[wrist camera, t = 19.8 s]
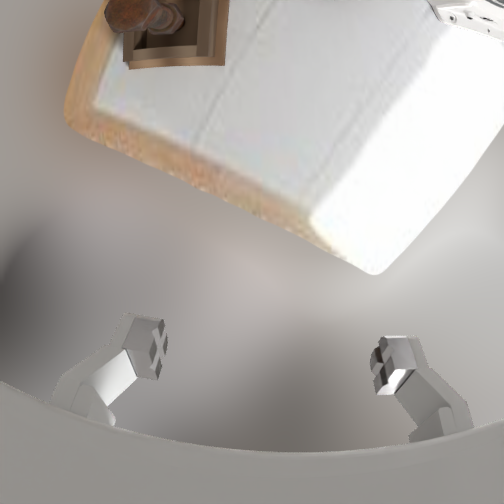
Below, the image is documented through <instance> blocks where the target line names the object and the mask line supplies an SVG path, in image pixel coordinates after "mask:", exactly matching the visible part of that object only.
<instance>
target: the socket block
mask: <svg viewBox="0 0 504 504" xmlns="http://www.w3.org/2000/svg"><path fill="white" fill-rule="evenodd" d="M158 1H159V3H175V4H177V6H178V8H179V9H180V11H181V13H182V15H183V17H184V18H185V24H184V26H183V27H182V29H180V30H179V31H176V32H174V33H173V34H162V35H154V34H151V33H150V31H149V30H148V28H146V30H143V31H132V32H124V44H123V62H128V61H129V70H130V69H140V68H151V67H166V66H193V65H219V66H225V52H226V38H227V25H228V12H229V0H158Z"/></svg>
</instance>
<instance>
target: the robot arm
mask: <svg viewBox="0 0 504 504" xmlns="http://www.w3.org/2000/svg"><path fill="white" fill-rule="evenodd" d="M427 1H428V2H429V3H430V4H431V6H432V8H433V10H434V12H435V14H436V16H437V18H438V19H439V20H440V21H441V22H442V23H443V24H447V25H451V26H454V27H458V28H462V29H465V30H468V31H472V32H475V33H478V34H481V35H484V36H487V37H490V38H492V39H495V40H498V41H501V42H504V0H427ZM450 17H451V18H452V20H451V19H450ZM164 327H165V323H164V320H163V319H158V318H153V317H148V316H142V315H136V314H131V313H124V314H123V315H122V317H121V319H120V322H119V324H118V326H117V328H116V330H115V332H114V335H113V337H112V339H111V341H110V343H109V345H104V346H103V347H101V348H100V349H99V350H97V351H96V352H94V353H93V354H91V355H90V356H89V357H87V358H86V359H84V360H83V361H82V362H80V363H79V364H77V365H76V366H74V367H73V368H72V369H70V370H69V371H67V372H66V373H64V374H63V375H61V377H60V379H59V381H58V384H57V386H56V388H55V390H54V393H53V395H52V397H51V399H50V402H49V403H46V402H44V401H42V400H39V399H37V398H35V397H33V396H30V395H28V394H26V393H24V392H22V391H19V390H18V389H16V388H13V387H11V386H10V385H8V384H5V383H4V382H2V381H0V504H504V418H502V419H500V420H497V421H494V422H491V423H488V424H485V425H482V426H479V427H475V428H474V425H473V422H472V418H471V415H470V411H469V408H468V405H467V402H466V401H465V400H464V399H463V398H462V397H461V396H460V395H459V394H458V393H457V392H456V391H455V390H454V389H453V388H452V387H451V386H450V385H449V384H448V383H447V382H446V381H445V380H444V379H443V378H442V377H441V376H439V374H438V373H436V372H435V371H434V370H433V369H432V368H429V366H428V363H427V360H426V358H425V355H424V352H423V349H422V346H421V344H420V341H419V338H418V337H417V336H383V337H381V338H380V340H379V342H378V343H379V346H378V347H377V348H375V349H374V350H373V352H372V354H371V359H370V367H371V372H372V373H373V374H374V375H375V376H376V377H375V379H374V380H373V382H374V387H375V392H376V395H387V394H395V397H396V398H397V399H398V401H399V402H400V403H401V405H402V406H403V407H404V409H405V410H406V411H407V413H408V414H409V415H410V416H411V418H412V419H413V421H414V422H415V423H416V424H417V426H418V427H417V428H416V429H415V430H414V431H412V432H411V433H410V435H409V442H410V443H407V444H401V445H395V446H387V447H381V448H372V449H362V450H350V451H337V452H300V453H299V452H263V451H262V452H261V451H248V450H237V449H227V448H217V447H210V446H202V445H196V444H190V443H184V442H179V441H173V440H168V439H163V438H158V437H154V436H149V435H144V434H140V433H137V432H132V431H128V430H125V429H122V428H118V427H114V424H115V420H116V418H115V416H114V415H113V414H112V412H111V411H110V410H109V408H108V407H107V406H108V405H109V404H110V403H111V402H112V401H113V400H114V399H116V398H117V397H118V396H119V395H120V394H121V393H122V392H123V391H124V390H125V389H126V388H127V387H128V386H129V385H130V384H131V383H132V382H134V380H136V379H137V377H141V378H147V379H152V380H158V379H159V375H160V372H161V369H162V364H161V359H162V358H164V357H165V355H166V351H167V344H168V337H167V333H166V332H165V331H164Z"/></svg>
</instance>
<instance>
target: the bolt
mask: <svg viewBox="0 0 504 504" xmlns="http://www.w3.org/2000/svg"><path fill="white" fill-rule="evenodd" d="M104 14H105V18H106V20H107V22H108V24H109V26H110V28H111V29H112V30H113V32H115V33H123V32H132V31H143V30H146V28H148V30H149V31H150V33H151V34H154V35H162V34H173V33H174V32H176V31H179V30H180V29H182V27H183V26H184V24H185V18H184V17H183V15H182V13H181V11H180V9H179V8H178V6H177V4H175V3H159V1H158V0H110V1H109V2H108V4H107V6H106V9H105V11H104Z"/></svg>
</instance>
